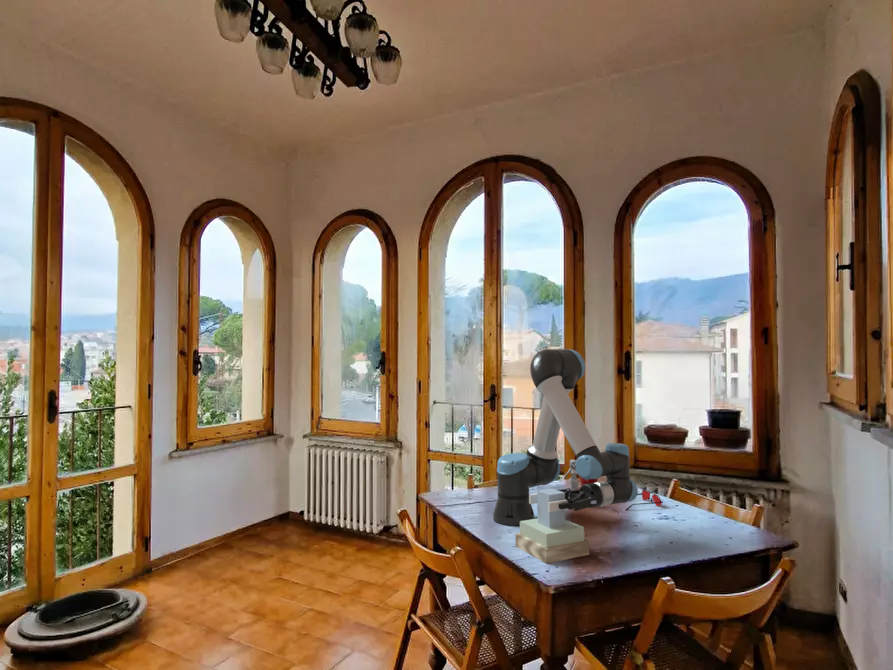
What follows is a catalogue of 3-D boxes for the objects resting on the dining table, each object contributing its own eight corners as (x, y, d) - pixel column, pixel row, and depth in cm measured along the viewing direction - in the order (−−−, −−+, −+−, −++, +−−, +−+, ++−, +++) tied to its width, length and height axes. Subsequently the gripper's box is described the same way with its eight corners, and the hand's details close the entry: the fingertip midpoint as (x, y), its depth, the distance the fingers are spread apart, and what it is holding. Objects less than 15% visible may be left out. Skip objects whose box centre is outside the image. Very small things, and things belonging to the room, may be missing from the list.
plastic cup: (602, 493, 237) (602, 465, 237) (577, 492, 239) (577, 464, 239) (600, 487, 247) (600, 461, 248) (576, 486, 250) (576, 460, 250)
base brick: (515, 546, 171) (515, 533, 171) (556, 538, 178) (556, 526, 178) (546, 563, 157) (546, 549, 157) (589, 554, 164) (589, 541, 164)
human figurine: (561, 506, 217) (560, 461, 217) (558, 503, 220) (557, 459, 221) (589, 505, 218) (589, 460, 219) (586, 502, 222) (585, 458, 223)
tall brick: (537, 522, 169) (537, 490, 170) (553, 520, 172) (552, 488, 172) (549, 528, 164) (549, 495, 164) (565, 525, 166) (564, 492, 167)
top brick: (519, 534, 171) (519, 521, 171) (555, 527, 177) (555, 515, 177) (546, 548, 158) (546, 534, 158) (584, 540, 164) (584, 527, 165)
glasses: (663, 509, 214) (663, 496, 214) (625, 511, 210) (625, 498, 210) (643, 499, 227) (643, 487, 227) (607, 502, 224) (607, 490, 224)
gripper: (620, 515, 166) (561, 525, 156) (574, 498, 186) (519, 506, 176) (620, 490, 166) (561, 499, 156) (573, 476, 186) (519, 483, 176)
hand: (539, 503), depth 166 cm, fingers open, 9 cm apart
